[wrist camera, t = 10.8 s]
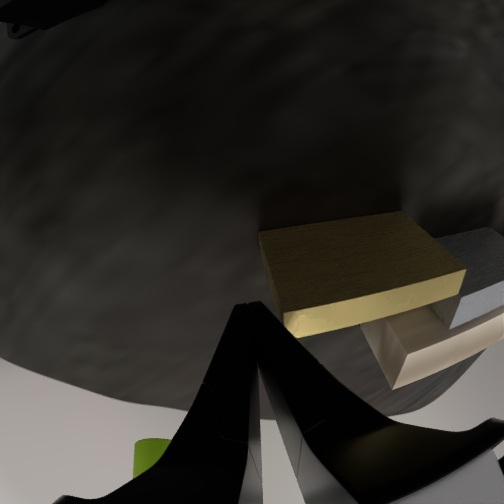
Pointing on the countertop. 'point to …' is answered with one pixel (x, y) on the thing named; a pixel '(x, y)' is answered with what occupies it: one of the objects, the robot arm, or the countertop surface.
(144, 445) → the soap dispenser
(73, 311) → the countertop surface
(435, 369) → the block
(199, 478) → the robot arm
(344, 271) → the block
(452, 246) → the grey block with shaft
